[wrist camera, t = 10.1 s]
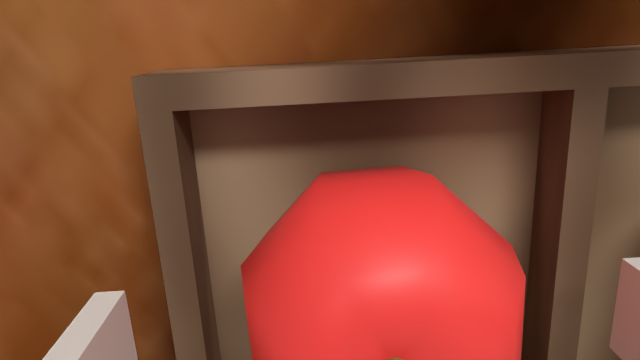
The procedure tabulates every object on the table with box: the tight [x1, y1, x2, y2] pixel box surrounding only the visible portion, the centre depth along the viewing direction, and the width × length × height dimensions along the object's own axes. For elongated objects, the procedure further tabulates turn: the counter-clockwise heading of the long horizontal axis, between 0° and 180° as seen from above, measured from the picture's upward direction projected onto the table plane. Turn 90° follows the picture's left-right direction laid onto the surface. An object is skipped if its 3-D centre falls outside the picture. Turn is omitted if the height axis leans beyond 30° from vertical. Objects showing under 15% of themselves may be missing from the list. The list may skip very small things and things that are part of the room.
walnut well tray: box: [131, 45, 640, 360], centre depth 17 cm, size 26×13×2 cm, turn 93°
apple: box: [241, 166, 526, 360], centre depth 13 cm, size 8×8×8 cm
